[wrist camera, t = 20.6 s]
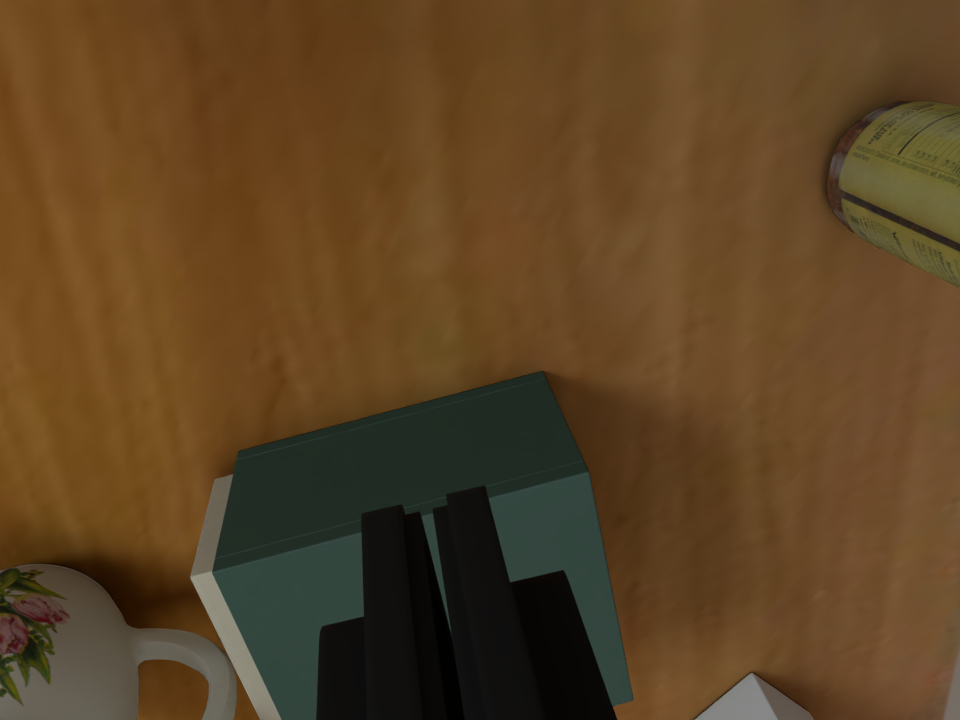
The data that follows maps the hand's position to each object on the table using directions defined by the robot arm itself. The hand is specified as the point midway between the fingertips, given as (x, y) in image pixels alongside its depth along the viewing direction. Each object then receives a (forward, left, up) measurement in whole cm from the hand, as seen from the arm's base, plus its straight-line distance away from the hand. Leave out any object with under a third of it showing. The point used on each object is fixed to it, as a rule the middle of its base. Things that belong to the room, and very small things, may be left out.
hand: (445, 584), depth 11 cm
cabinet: (+18, -3, -26) cm, 31 cm away
